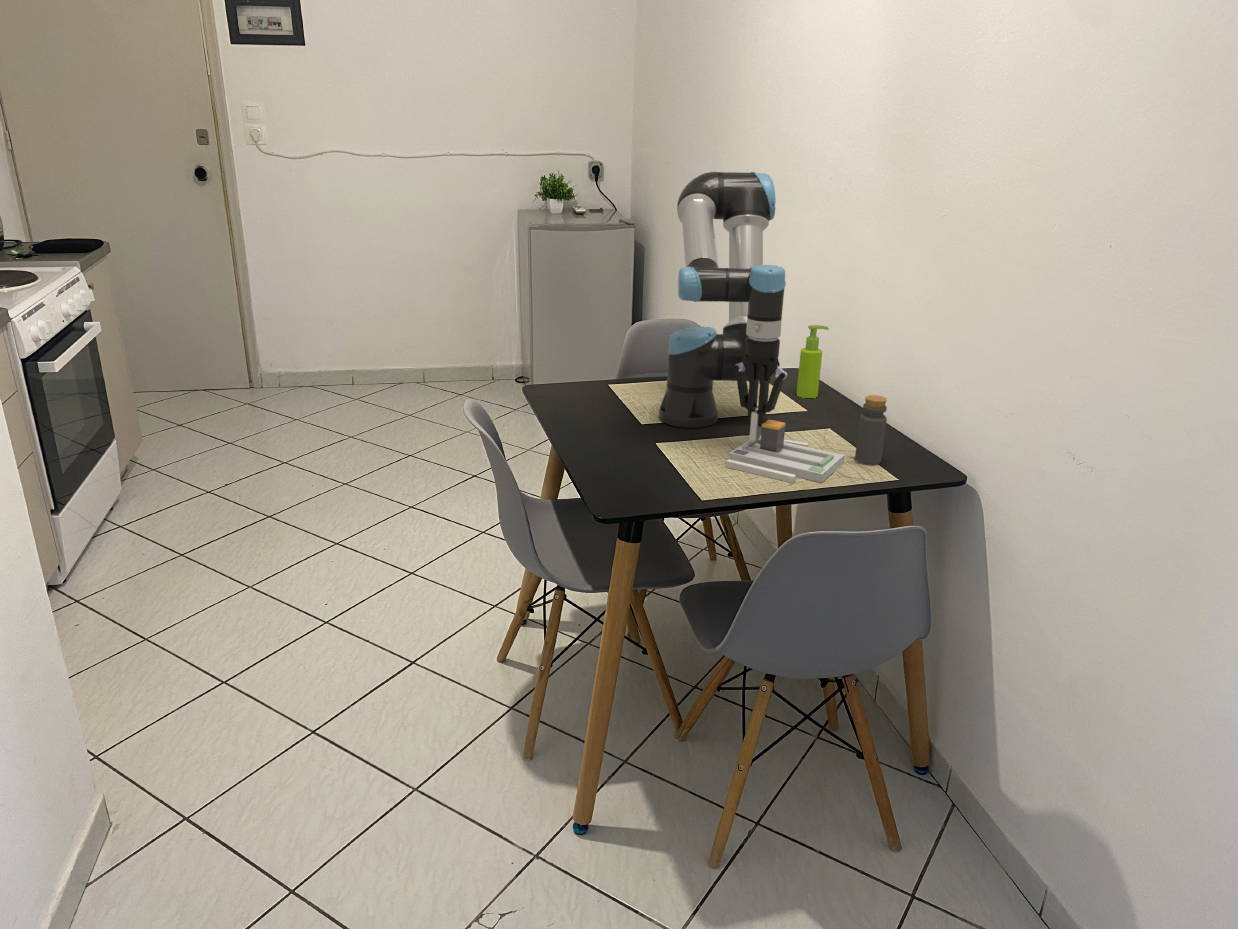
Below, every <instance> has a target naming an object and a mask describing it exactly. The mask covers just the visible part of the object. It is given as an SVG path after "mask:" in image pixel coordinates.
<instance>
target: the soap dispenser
mask: <svg viewBox="0 0 1238 929" xmlns="http://www.w3.org/2000/svg"><path fill="white" fill-rule="evenodd" d="M807 327H808V329H809V330H810V332H809V336H807V337H806V340H805V347H804V348H803V347H802V348H801V349H800V354H799V366H798V375H797V385H796V386H797V387H796V394H797V395H796V396H797V397H798V396H799V397H798V398H800V397H801V398H802V399H805V398H814V399H816V397H817V398H818V395H819V389H820V387H819V386H820V378H821V377H820V376H821V368H822V360H823V359H822V358H823V350H822V349H820V348H819V343H820V342H819V341H820V338H819V336H817V334H818V333H817V331H818V330H825V331H828V330H830V328H829V327H828V326H825V325H820V324H812V325H809V324H808V326H807ZM801 398H800V399H801Z"/></svg>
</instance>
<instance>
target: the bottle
mask: <svg viewBox="0 0 1238 929" xmlns="http://www.w3.org/2000/svg"><path fill="white" fill-rule="evenodd" d="M864 399H865V400H864V401H865V403H863V405H862V410H863V411H864V412H863V413H861V415H860V416H859V423H858V430H857V439H856V447H855V455H854V460H855V462H858V463H859V464H863V465H869V466H874V465H875V466H876V465H879V464H881V462H882V458H883V449H884V443H885V435H886V427H887V419H888V418H887V416H885V414H884V413H886V412H887V410H888V409H887V405H886V403H887V401H888V399H887V397H885V396H883V395H876V394H875V395H874V394H872V395H871V394H870V395H866V396H864Z"/></svg>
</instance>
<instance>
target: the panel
mask: <svg viewBox="0 0 1238 929" xmlns="http://www.w3.org/2000/svg"><path fill="white" fill-rule="evenodd" d="M760 443H761V437H760V438H759V439H758V440H756V441H754V440H749V439H748V440H747V441H745V442H744V443H742V444H741V445H739V446H738V447H736V448H735V449H733V450H732V451H730V452H729V455H728V456H729V458H728V460H729V459H730V460H734V461H739V462H743V463H747V464H751V465H756V466H760V467H764V468H768V469H773V470H777V471H781V472H786V473H790V474H794V475H796V478H799V479H805V480H808V481H813V482H816V483H823V482H824V481H825V480H826V479H828V478H829V477H830V476H831V475H832V474H833V473H834V472H836V470H838V469H839V468H840V467H841V466H842V465H844V464H845V454H842V453H841V454H840V453H837V452H832V451H827V450H823V449H818V448H813V447H809V446H808V447H805V446H800V445H796V444H791V443H787V442H784V445H783V448H782V449H781V450H779V451H778V452H777V453H776V452H772V451H767V450H763V449H760Z"/></svg>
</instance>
